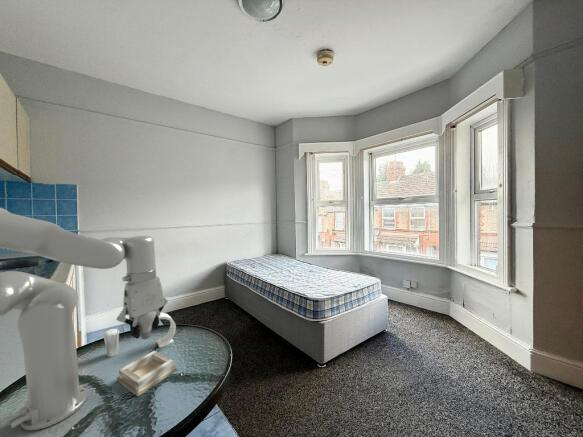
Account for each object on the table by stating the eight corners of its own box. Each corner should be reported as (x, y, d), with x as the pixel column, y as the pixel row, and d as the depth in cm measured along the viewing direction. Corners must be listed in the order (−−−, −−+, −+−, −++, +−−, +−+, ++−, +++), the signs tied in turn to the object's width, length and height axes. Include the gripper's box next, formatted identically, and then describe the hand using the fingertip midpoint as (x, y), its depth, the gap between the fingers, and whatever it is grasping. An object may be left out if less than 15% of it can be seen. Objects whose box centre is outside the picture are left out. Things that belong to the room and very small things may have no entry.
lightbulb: (146, 345, 71) (145, 309, 71) (129, 343, 72) (128, 308, 72) (161, 334, 77) (160, 301, 77) (145, 332, 78) (144, 300, 78)
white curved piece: (156, 342, 93) (155, 313, 92) (173, 337, 97) (171, 308, 96) (159, 348, 90) (158, 317, 89) (176, 341, 94) (175, 312, 93)
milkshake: (114, 359, 84) (112, 331, 83) (101, 357, 85) (99, 330, 84) (125, 351, 88) (123, 325, 87) (113, 349, 89) (111, 324, 88)
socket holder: (137, 396, 67) (137, 384, 67) (116, 381, 73) (116, 370, 73) (176, 370, 78) (176, 360, 77) (155, 358, 84) (154, 349, 83)
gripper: (116, 286, 64) (121, 350, 65) (174, 270, 79) (177, 322, 80) (103, 282, 68) (108, 343, 69) (161, 267, 83) (164, 317, 84)
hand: (145, 331), depth 75 cm, fingers closed on lightbulb, 5 cm apart
